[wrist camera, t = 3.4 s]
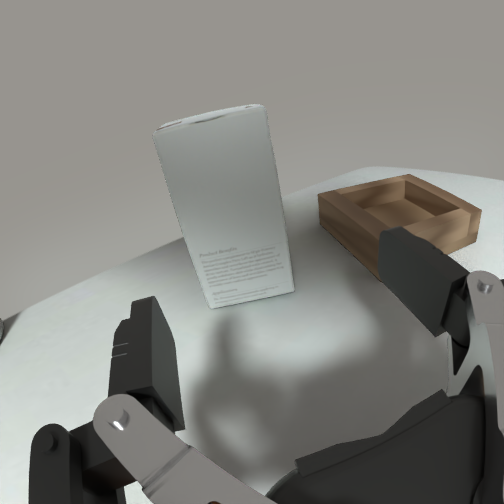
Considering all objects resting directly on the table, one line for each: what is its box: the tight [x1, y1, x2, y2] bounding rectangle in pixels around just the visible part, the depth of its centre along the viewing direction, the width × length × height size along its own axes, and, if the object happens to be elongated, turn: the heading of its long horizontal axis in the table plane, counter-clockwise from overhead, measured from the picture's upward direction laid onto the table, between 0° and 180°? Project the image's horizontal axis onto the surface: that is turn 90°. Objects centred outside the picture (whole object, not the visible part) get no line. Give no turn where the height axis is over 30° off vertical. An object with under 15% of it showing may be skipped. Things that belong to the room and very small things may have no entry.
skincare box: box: [152, 104, 295, 309], centre depth 19 cm, size 6×4×12 cm
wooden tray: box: [318, 174, 482, 282], centre depth 24 cm, size 11×10×3 cm
